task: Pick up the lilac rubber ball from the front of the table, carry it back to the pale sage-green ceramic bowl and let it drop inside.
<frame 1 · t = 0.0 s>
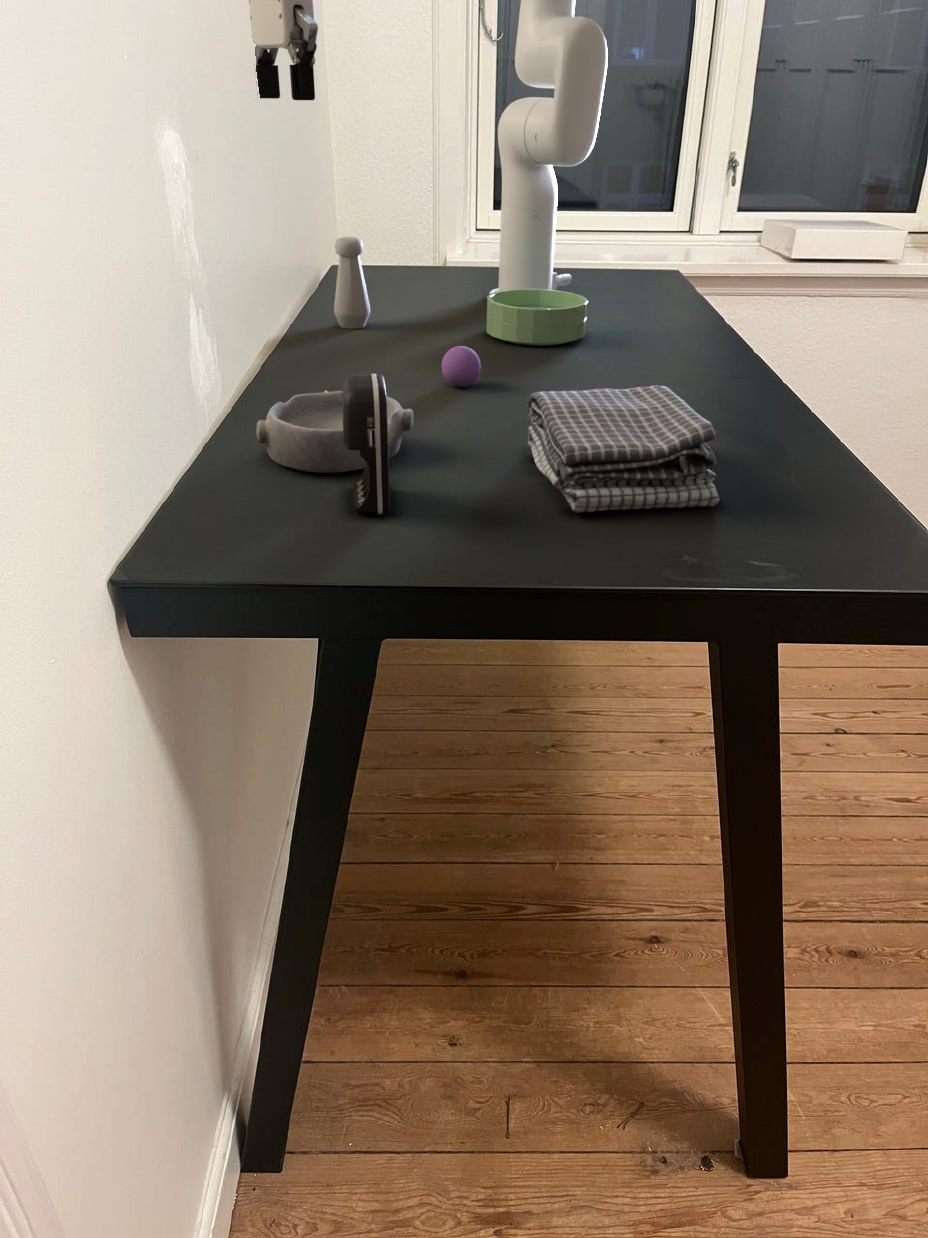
hand: (286, 98, 124), 31 cm above the table, tool pointing down, fingers open, 9 cm apart
bowl: (535, 335, 141), on the table
ball: (461, 366, 116), point 2 cm above the table
towel: (613, 480, 91), on the table
lemon: (344, 414, 107), on the table
salt shaker: (352, 326, 145), on the table
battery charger: (367, 504, 84), on the table
dish: (333, 455, 95), on the table
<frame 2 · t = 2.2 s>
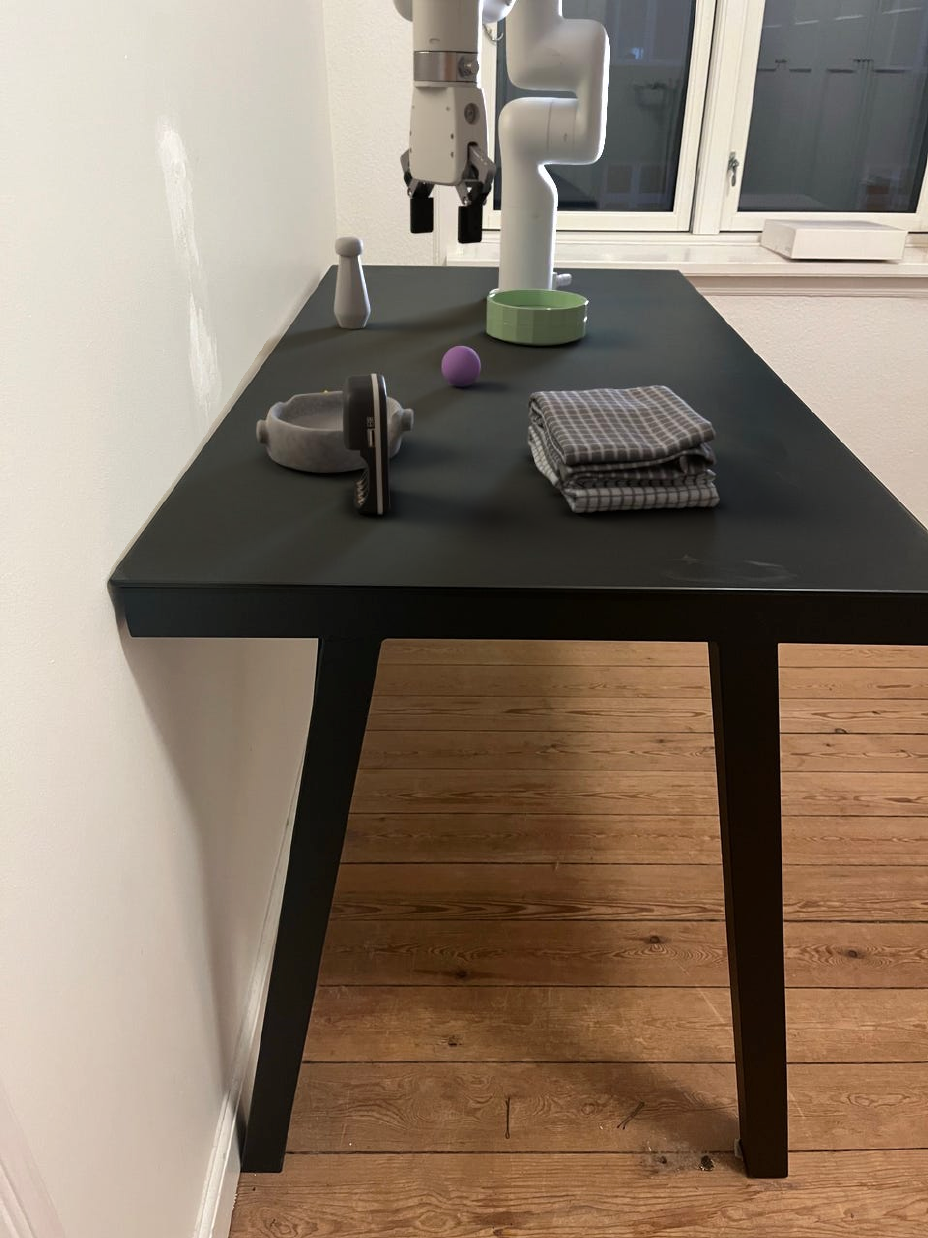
hand: (445, 237, 110), 17 cm above the table, tool pointing down, fingers open, 9 cm apart
nothing on the table moved.
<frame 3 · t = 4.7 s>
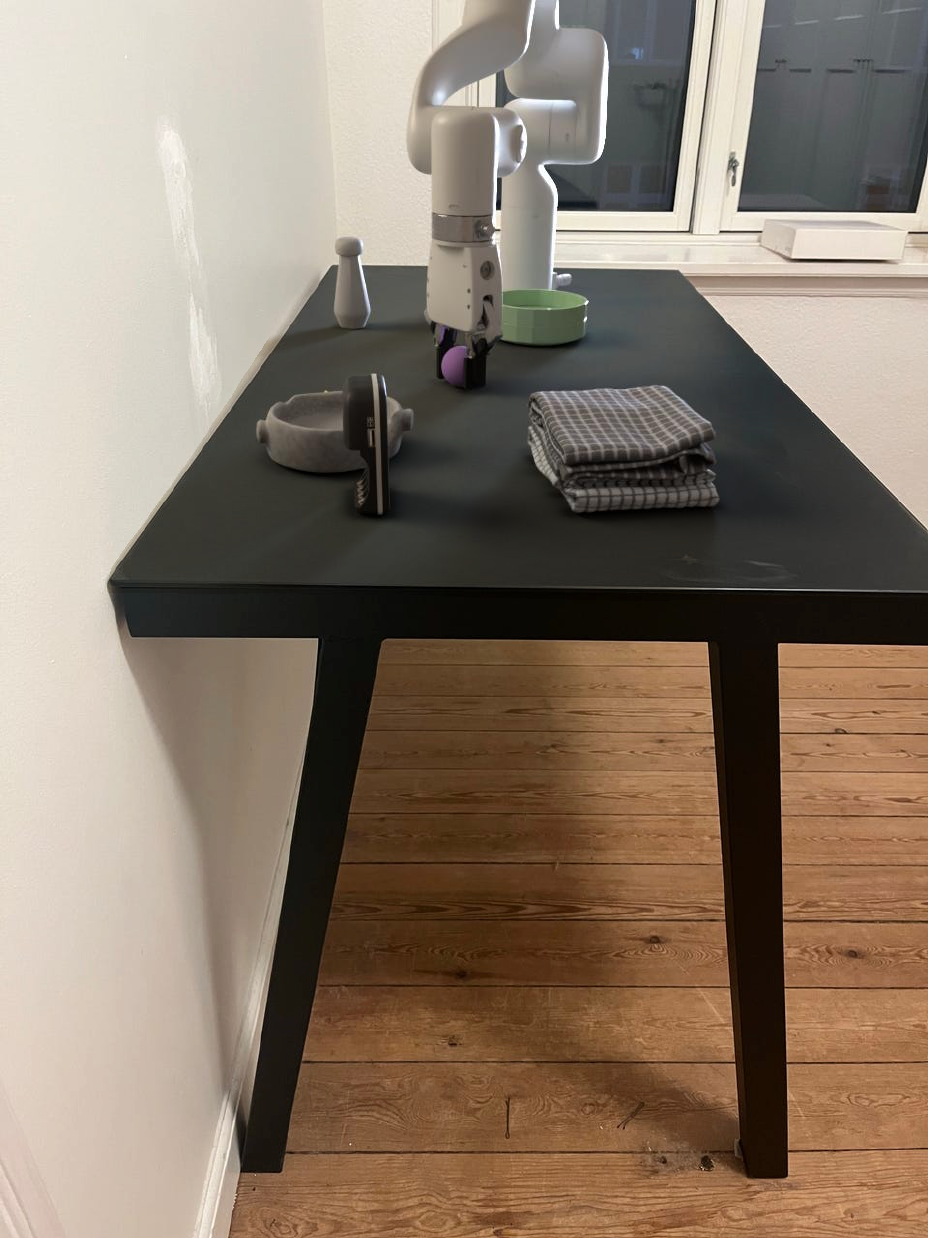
hand: (460, 380, 117), 1 cm above the table, tool pointing down, fingers closed on ball, 4 cm apart
ball: (461, 366, 116), point 2 cm above the table, touching gripper
everything else where it was.
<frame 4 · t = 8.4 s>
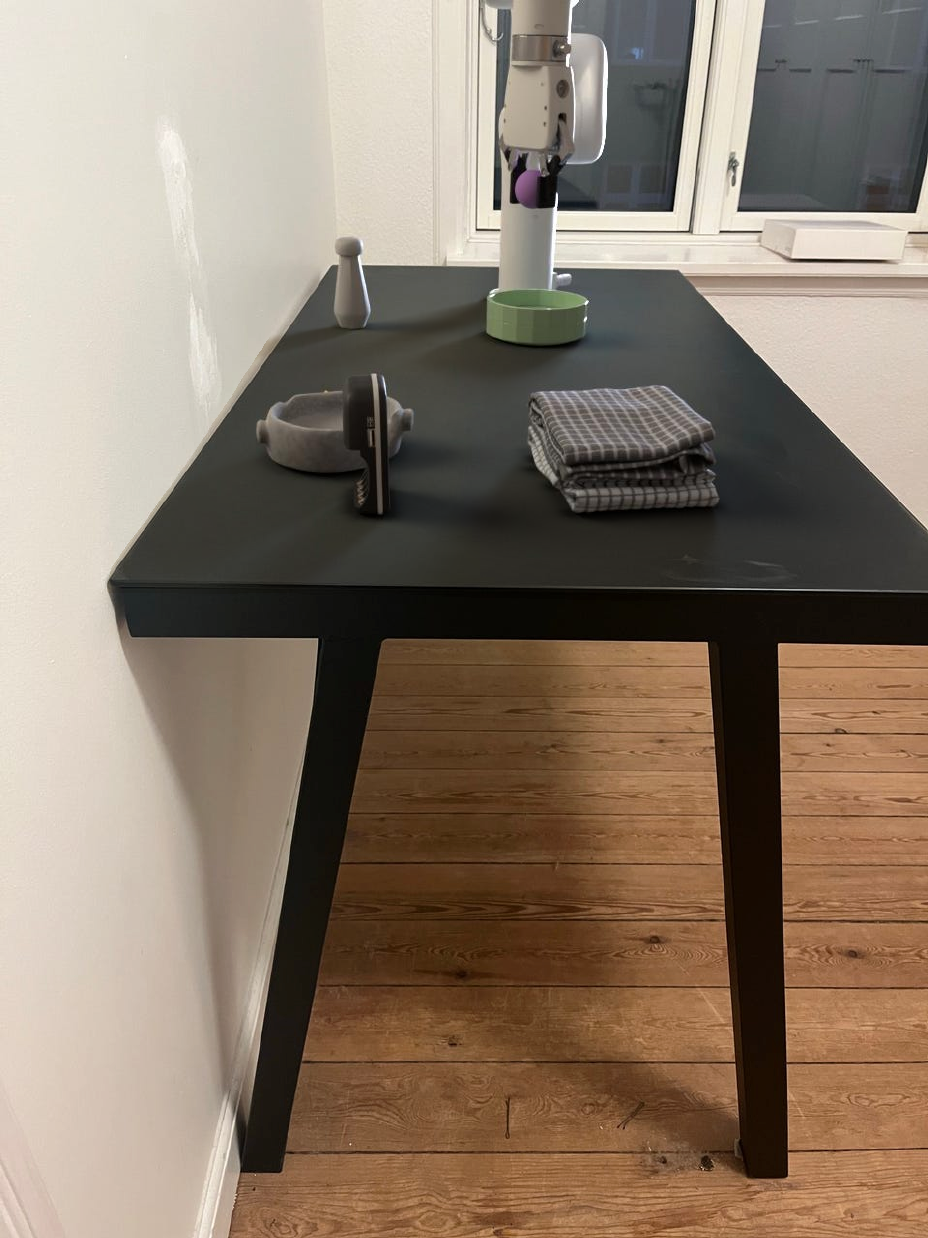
hand: (532, 203, 128), 19 cm above the table, tool pointing down, fingers closed on ball, 4 cm apart
ball: (533, 188, 127), point 21 cm above the table, touching gripper
everything else where it was.
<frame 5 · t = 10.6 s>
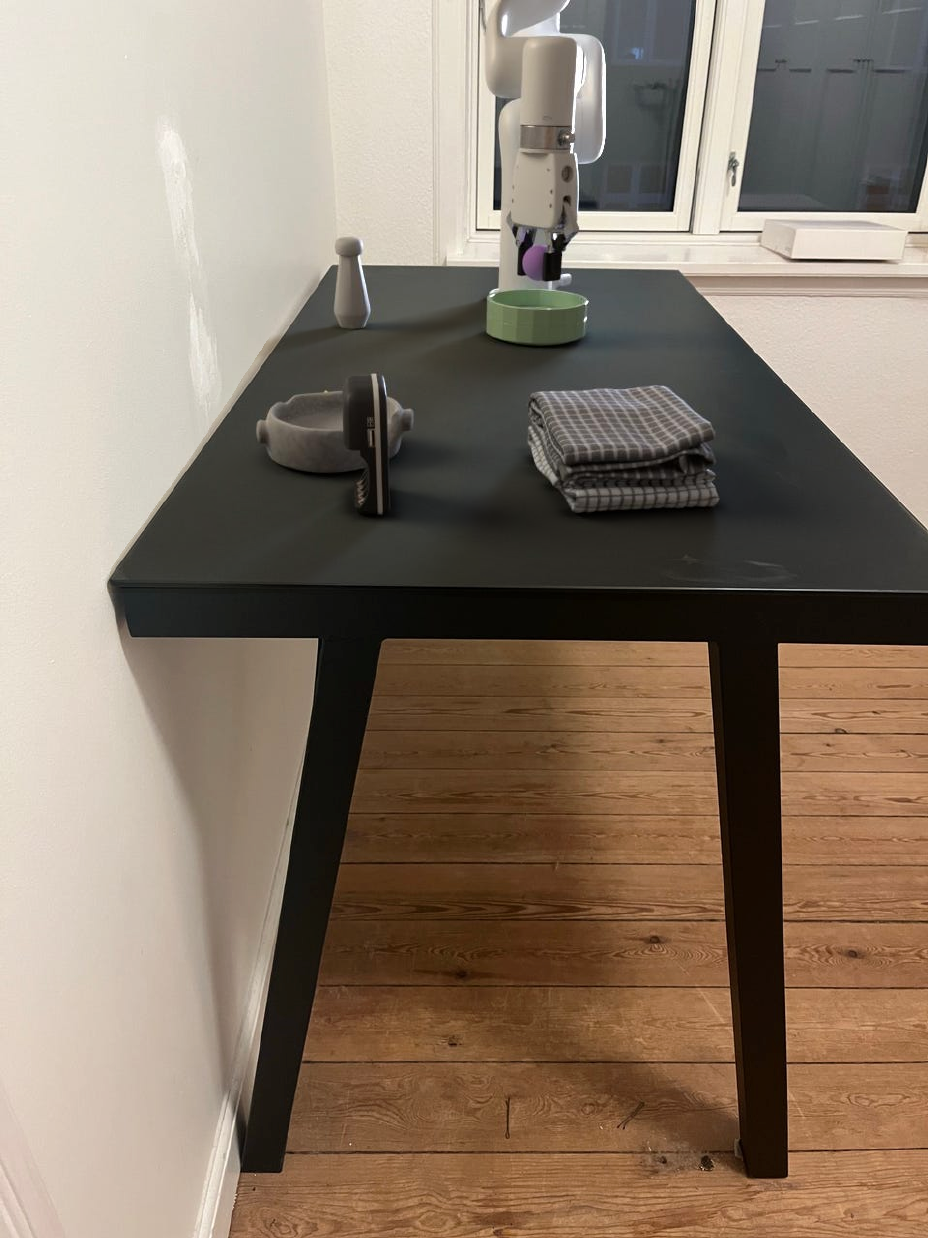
hand: (538, 276, 137), 9 cm above the table, tool pointing down, fingers closed on ball, 4 cm apart
ball: (539, 262, 136), point 11 cm above the table, touching gripper
everything else where it was.
when the fingers open (3 cm above the table, at t = 12.6 s): ball drops 2 cm, resting on bowl.
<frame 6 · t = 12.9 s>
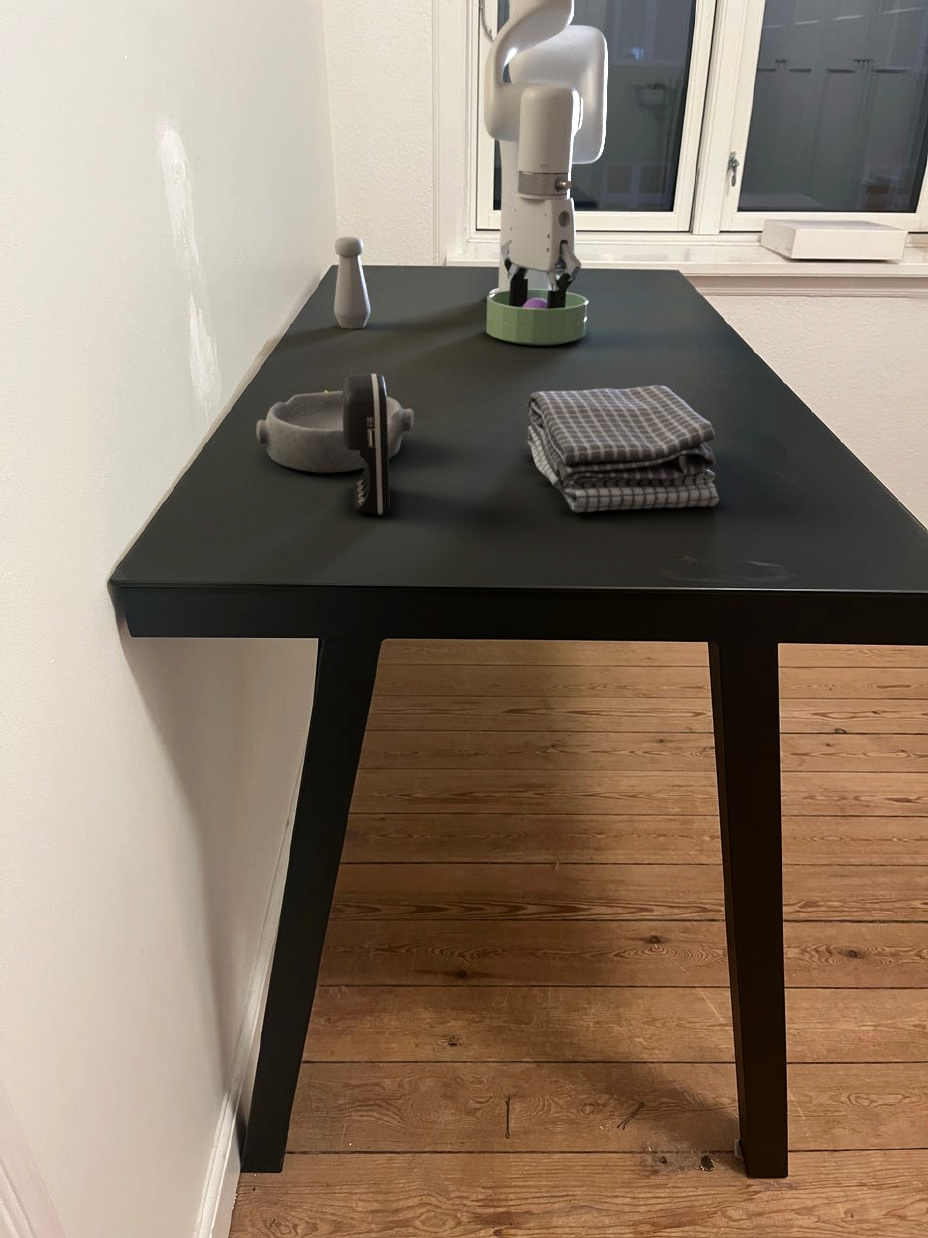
hand: (536, 311, 140), 4 cm above the table, tool pointing down, fingers open, 8 cm apart
ball: (536, 314, 140), point 3 cm above the table, touching bowl
everything else where it was.
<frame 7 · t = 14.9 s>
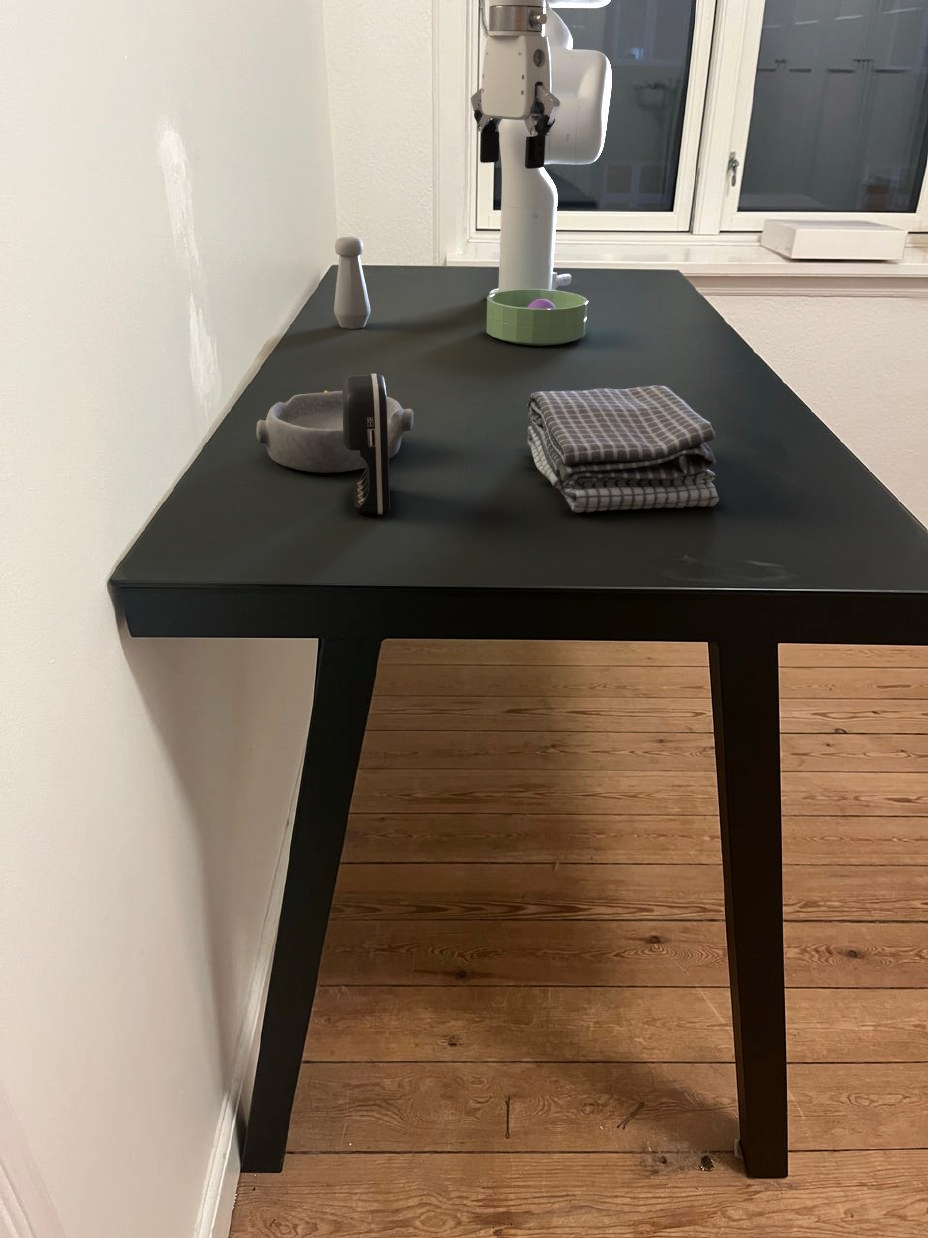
hand: (511, 164, 132), 23 cm above the table, tool pointing down, fingers open, 9 cm apart
ball: (541, 316, 139), point 3 cm above the table, tilted 28°, touching bowl
everything else where it was.
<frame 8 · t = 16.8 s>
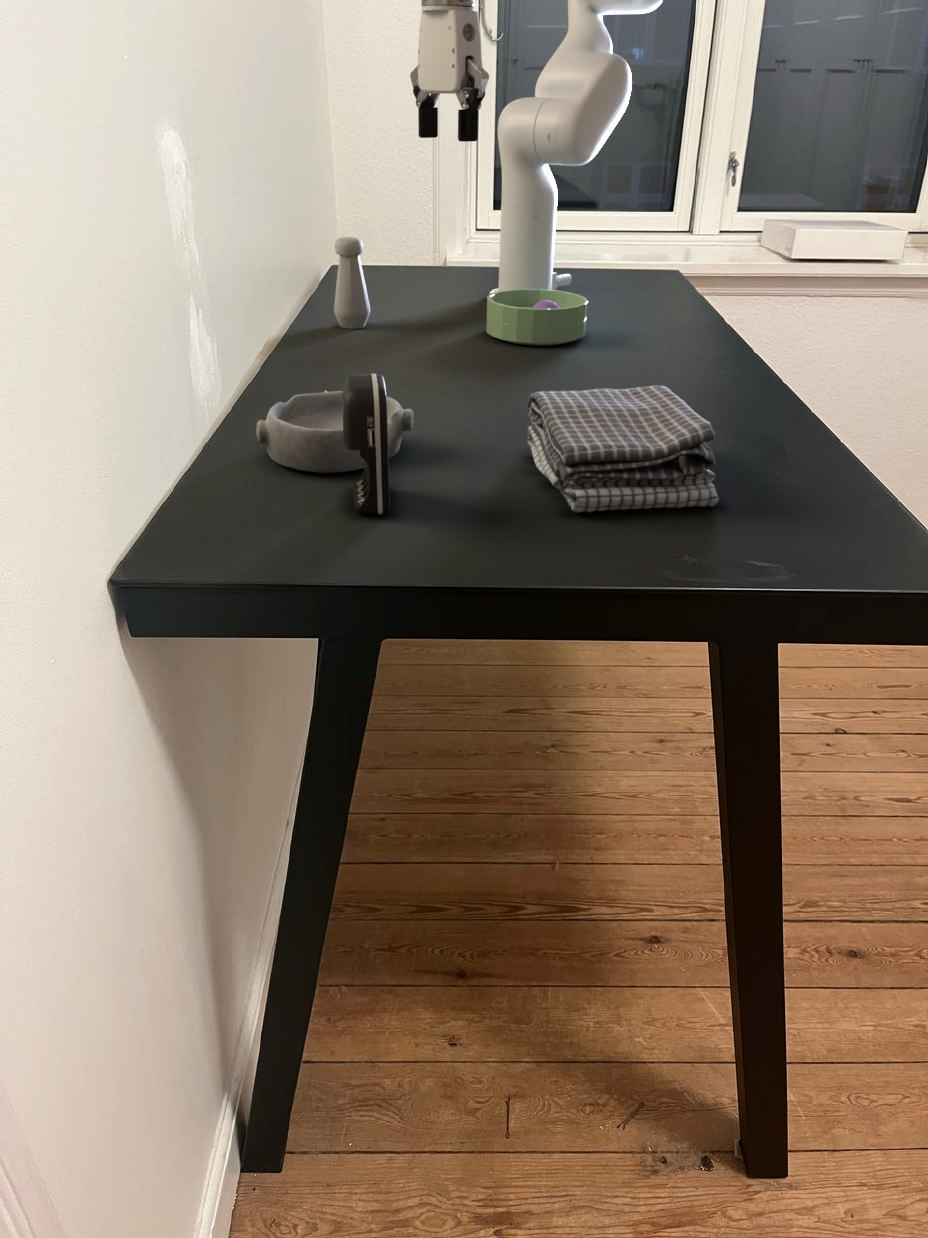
hand: (447, 139, 135), 26 cm above the table, tool pointing down, fingers open, 9 cm apart
ball: (545, 317, 138), point 3 cm above the table, tilted 50°, touching bowl
everything else where it was.
at the end: ball inside the target area in the bowl (2.2 cm from its centre), point 3.1 cm above the bowl's base; the gripper is holding nothing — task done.
